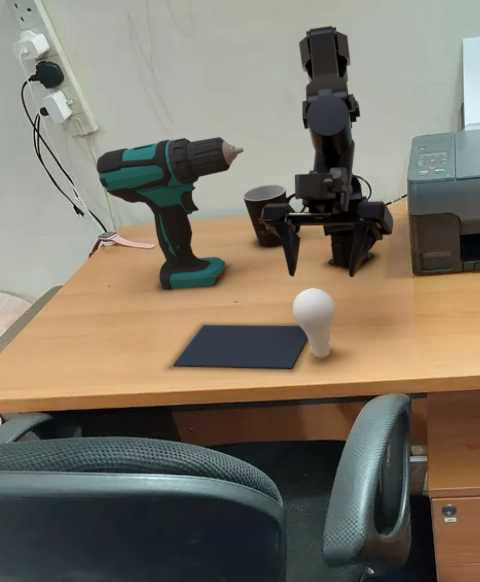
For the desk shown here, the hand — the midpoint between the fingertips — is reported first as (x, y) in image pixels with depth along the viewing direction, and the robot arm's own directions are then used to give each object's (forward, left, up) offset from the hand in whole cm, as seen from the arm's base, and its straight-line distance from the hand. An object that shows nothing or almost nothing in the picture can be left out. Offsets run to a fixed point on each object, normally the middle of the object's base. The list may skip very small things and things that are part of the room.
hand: (320, 276), depth 96 cm
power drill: (-8, -38, -11) cm, 40 cm away
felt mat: (+7, -12, -11) cm, 18 cm away
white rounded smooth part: (+4, +2, -11) cm, 12 cm away
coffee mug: (-27, -35, -11) cm, 45 cm away
